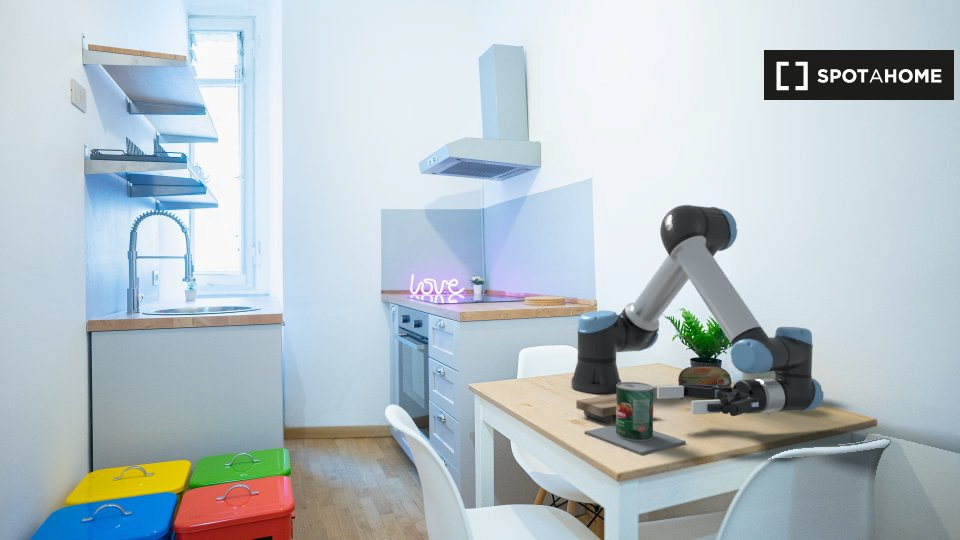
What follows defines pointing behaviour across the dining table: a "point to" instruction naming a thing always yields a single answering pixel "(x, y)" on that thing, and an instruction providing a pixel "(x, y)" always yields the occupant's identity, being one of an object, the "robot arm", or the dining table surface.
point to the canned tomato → (634, 411)
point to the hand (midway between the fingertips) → (673, 399)
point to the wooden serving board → (599, 407)
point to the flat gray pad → (640, 448)
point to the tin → (705, 376)
